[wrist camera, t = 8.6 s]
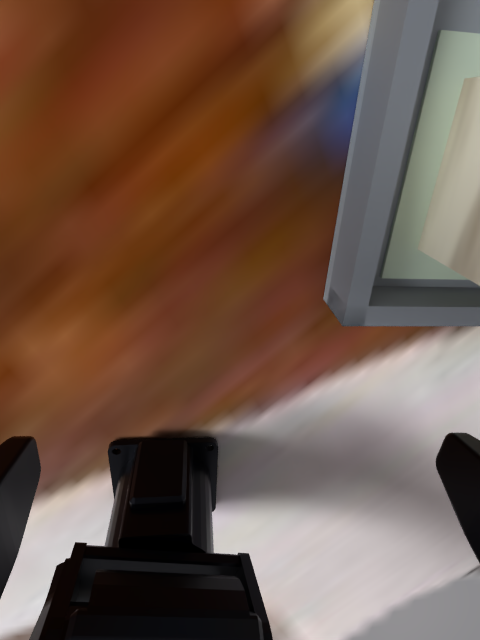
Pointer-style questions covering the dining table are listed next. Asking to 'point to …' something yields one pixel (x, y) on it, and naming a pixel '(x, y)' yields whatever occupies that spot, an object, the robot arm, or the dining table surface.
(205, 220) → the dining table surface
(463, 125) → the birch block
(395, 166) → the corner arena
